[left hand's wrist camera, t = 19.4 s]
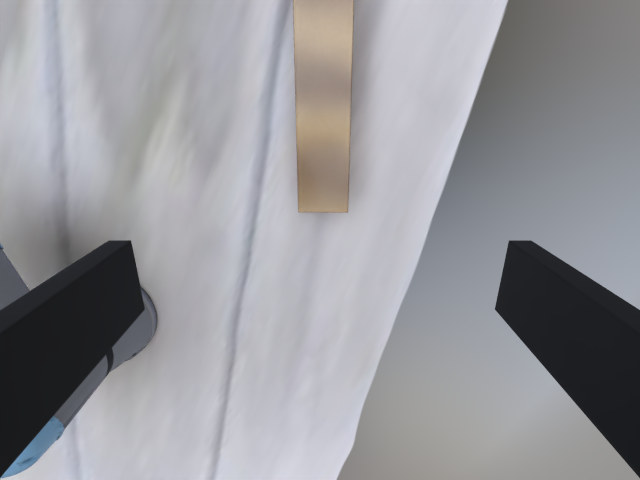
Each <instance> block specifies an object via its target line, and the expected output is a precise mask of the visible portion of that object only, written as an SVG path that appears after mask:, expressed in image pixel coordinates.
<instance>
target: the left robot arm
mask: <svg viewBox="0 0 640 480" xmlns="http://www.w3.org/2000/svg"><path fill="white" fill-rule="evenodd" d="M2 249H3V246H2V245H1V244H0V478H5V477H9V476H12V475H15V474H18V473H20V472H22V471H24V470H26V469H27V468H29V467H30V466H32V465H33V464H34V463H35V462H36V461H37V460H38V459H39V458H40V457H41V456H42V455H43V454H44V453H45V452H46V451H47V449H48V448H49V447H50V446H51V445H52V444H53V443H54V442H55V441H56V440H58V439H59V438H60V437H61V435H62V434H63V431H64V429H65V428H66V427H67V426H68V424H69V423H70V422H71V420H72V419H73V418H74V417H75V415H76V414H77V413H78V412H79V410H80V409H81V408H82V406H83V405H84V404H85V403H86V401H87V400H88V399H89V398H90V396H91V395H92V394H93V392H94V391H95V390H96V389H97V387H98V386H99V385H100V384H101V382H102V381H103V380H104V378H105V377H106V376H107V375H108V373H109V372H110V371H112V370H114V369H115V368H117V367H118V366H119V365H121V364H122V363H123V362H125V361H127V360H129V359H131V358H133V357H134V356H136V355H137V354H138V353H140V352H141V351H142V350H143V349H144V348H145V347H146V346H147V344H148V343H149V341H150V340H151V339H152V337H153V335H154V333H155V330H156V325H157V317H156V311H155V308H154V305H153V303H152V301H151V300H150V298H149V296H148V295H147V294H146V292H145V291H144V290H143V289H142V288H141V287H140V282H139V278H138V273H137V268H136V263H135V258H134V253H133V248H132V244H131V241H108V242H106V243H104V244H103V245H101V246H100V247H98V248H97V249H95V250H93V251H92V252H90V253H89V254H87V255H86V256H84V257H83V258H81V259H79V260H78V261H76V262H75V263H73V264H72V265H70V266H68V267H67V268H65V269H64V270H62V271H61V272H59V273H58V274H56V275H54V276H53V277H51V278H50V279H48V280H47V281H45V282H43V283H42V284H40V285H39V286H37V287H36V288H34V289H33V290H31V291H30V290H29V289H28V287H27V286H26V284H25V283H24V281H23V280H22V278H21V277H20V275H19V274H18V273H17V271H16V270H15V268H14V267H13V265H12V264H11V262H10V261H9V259H8V258H7V256H6V255H5V253H4V252H3V250H2ZM495 310H496V311H497V312H498V313H499V314H500V316H501V317H502V318H503V319H504V320H505V322H506V323H507V324H508V325H509V326H510V327H511V329H512V330H513V331H514V332H515V333H516V334H517V336H518V337H519V338H520V339H521V340H522V341H523V342H524V344H525V345H526V346H527V347H528V348H529V349H530V351H531V352H532V353H533V354H534V355H535V356H536V358H537V359H538V360H539V361H540V362H541V363H542V365H543V366H544V367H545V368H546V369H547V370H548V372H549V373H550V374H551V375H552V376H553V377H554V379H555V380H556V381H557V382H558V383H559V384H560V386H561V387H562V388H563V389H564V390H565V391H566V393H567V394H568V395H569V396H570V397H571V398H572V400H573V401H574V402H575V403H576V404H577V405H578V407H579V408H580V409H581V410H582V411H583V412H584V414H585V415H586V416H587V417H588V418H589V419H590V420H591V422H592V423H593V424H594V425H595V426H596V427H597V429H598V430H599V431H600V432H601V433H602V434H603V436H604V437H605V438H606V439H607V440H608V441H609V443H610V444H611V445H612V446H613V447H614V448H615V450H616V451H617V452H618V453H619V454H620V455H621V457H622V458H623V459H624V460H625V461H626V462H627V464H628V465H629V466H630V467H631V468H632V469H633V471H634V472H635V473H636V474H637V475H638V476H639V478H640V310H639V309H637V308H636V307H634V306H632V305H631V304H629V303H628V302H626V301H625V300H623V299H622V298H620V297H618V296H617V295H615V294H614V293H612V292H611V291H609V290H607V289H606V288H604V287H603V286H601V285H600V284H598V283H596V282H595V281H593V280H592V279H590V278H589V277H587V276H586V275H584V274H582V273H581V272H579V271H578V270H576V269H575V268H573V267H571V266H570V265H568V264H567V263H565V262H564V261H562V260H561V259H559V258H557V257H556V256H554V255H553V254H551V253H550V252H548V251H547V250H545V249H543V248H542V247H540V246H539V245H537V244H536V243H534V242H532V241H509V244H508V248H507V253H506V258H505V263H504V268H503V273H502V278H501V283H500V287H499V292H498V297H497V302H496V307H495Z"/></svg>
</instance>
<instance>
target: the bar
mask: <svg viewBox="0 0 640 480" xmlns="http://www.w3.org/2000/svg"><path fill="white" fill-rule="evenodd" d="M293 12H294V53H295V94H296V135H297V175H298V212H348V191H349V155H350V120H351V84H352V48H353V13H354V0H293Z"/></svg>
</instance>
